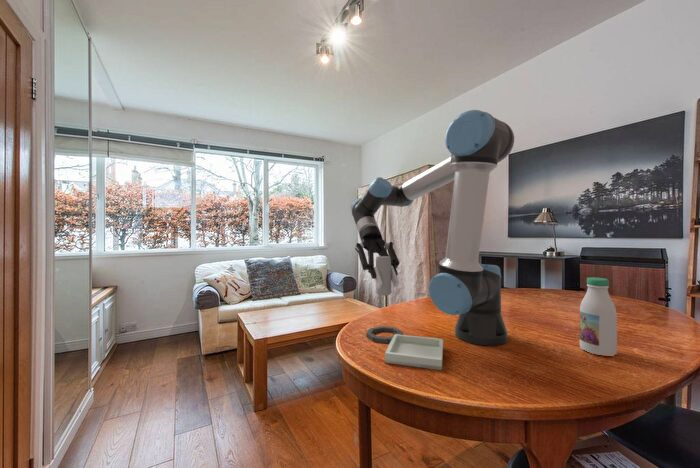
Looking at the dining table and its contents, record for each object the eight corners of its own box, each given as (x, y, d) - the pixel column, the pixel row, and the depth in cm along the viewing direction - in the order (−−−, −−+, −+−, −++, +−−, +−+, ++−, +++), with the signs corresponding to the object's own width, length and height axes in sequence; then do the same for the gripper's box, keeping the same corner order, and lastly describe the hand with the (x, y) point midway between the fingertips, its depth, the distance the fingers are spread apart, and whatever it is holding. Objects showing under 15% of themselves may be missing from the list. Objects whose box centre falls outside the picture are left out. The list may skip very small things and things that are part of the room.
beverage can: (393, 295, 91) (392, 257, 90) (378, 296, 90) (377, 257, 90) (389, 292, 95) (388, 255, 95) (374, 293, 95) (374, 256, 94)
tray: (443, 347, 83) (443, 338, 83) (441, 370, 70) (441, 360, 70) (394, 342, 88) (394, 334, 88) (385, 362, 75) (384, 353, 75)
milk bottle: (607, 347, 81) (607, 276, 81) (623, 359, 74) (623, 281, 73) (574, 344, 84) (574, 275, 83) (586, 355, 76) (586, 280, 76)
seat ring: (404, 331, 96) (404, 328, 96) (398, 344, 86) (398, 340, 86) (372, 328, 100) (372, 325, 100) (363, 340, 89) (363, 336, 89)
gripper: (389, 238, 110) (410, 290, 94) (343, 239, 105) (358, 294, 89) (394, 224, 104) (418, 276, 89) (347, 224, 99) (363, 280, 84)
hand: (388, 285), depth 89 cm, fingers closed on beverage can, 5 cm apart
